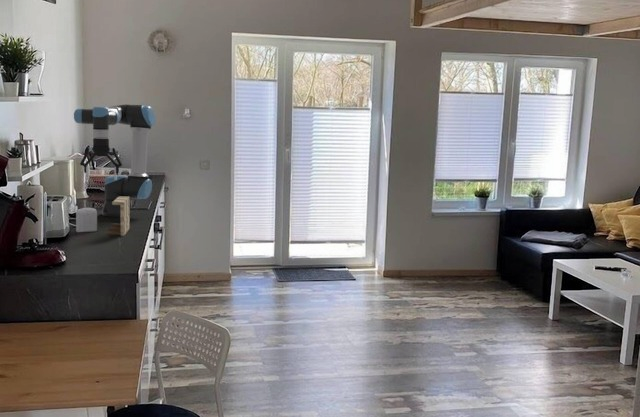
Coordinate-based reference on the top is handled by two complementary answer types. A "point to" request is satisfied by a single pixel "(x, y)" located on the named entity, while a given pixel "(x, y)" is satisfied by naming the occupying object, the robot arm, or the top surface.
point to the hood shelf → (125, 217)
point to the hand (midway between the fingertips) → (101, 179)
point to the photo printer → (86, 220)
